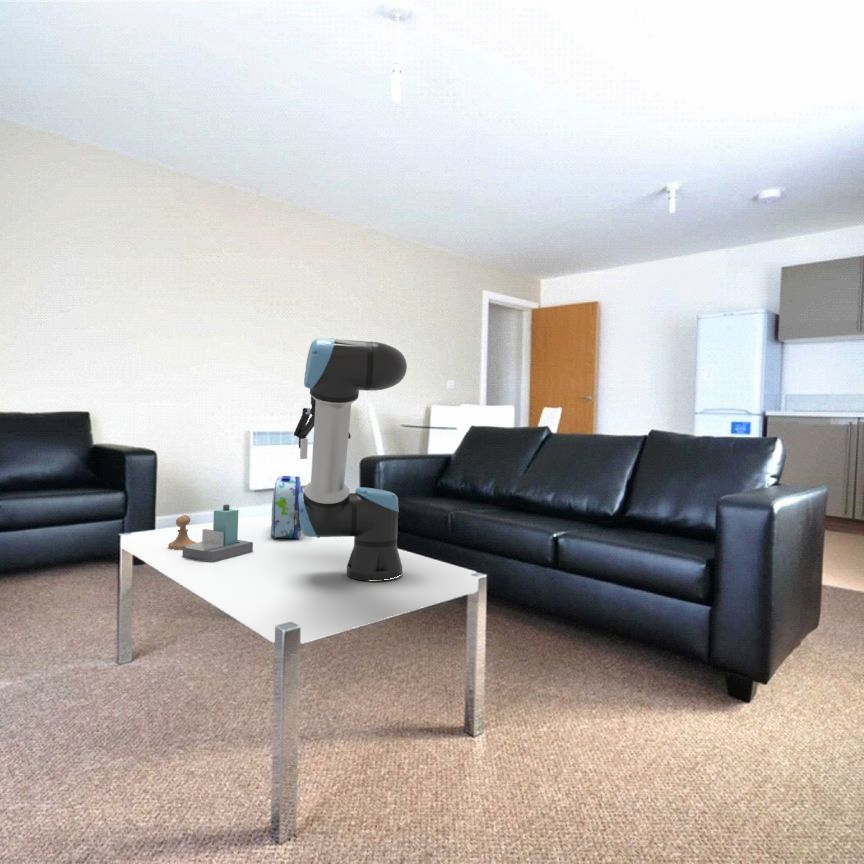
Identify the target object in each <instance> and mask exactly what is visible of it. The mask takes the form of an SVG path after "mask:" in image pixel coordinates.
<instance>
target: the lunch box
mask: <svg viewBox="0 0 864 864" xmlns="http://www.w3.org/2000/svg"><path fill="white" fill-rule="evenodd" d="M301 484H302V483H301V477H300V476H298V475H297V476H293V475H282V476H281V475H278V476H277V478H276V481H275V484H274V488H273V493H272V502H271V503H272V504H271V525H270V535H271V537H272V538H274V539H275V538H279V539H283V538H286V539H287V538H288V539H293V538H294V539H295V540H298V539H299V538H300V536H301V533H302V531H301V525H300V514H299V500H298V495H299V493H302V492H304V490H303V487H302V485H301Z"/></svg>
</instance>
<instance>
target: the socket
mask: <svg viewBox="0 0 864 864" xmlns="http://www.w3.org/2000/svg"><path fill="white" fill-rule="evenodd" d="M253 547H254V542H253V541H248V540H241V539H238V540H237V543H236V544H232V545H228V546H223V547H219V548H215V549H211V550H206V551H201V550H195V549H190V548H186V546H183V550H182V556H181V557H183V558H188V559H193V560H199V561H205V562H208V563H215V562H219V561H220V562H221V561H223V560H227V559H231V558H235V557H238V556H242V555H247V554H250V553H254V552H253V551H254V550H253V549H254V548H253Z"/></svg>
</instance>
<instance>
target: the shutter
mask: <svg viewBox="0 0 864 864" xmlns="http://www.w3.org/2000/svg"><path fill="white" fill-rule="evenodd" d="M201 536H202V541H199V542H196V543H193V544H189V545H186V548H190V549H195V550H201V551H206V550H211V549H215V548H219V547H223V538H224V532H222V531H216V530H213V529H210V528H209V529H208V528H204V529H202V535H201Z"/></svg>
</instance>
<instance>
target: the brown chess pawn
mask: <svg viewBox="0 0 864 864" xmlns="http://www.w3.org/2000/svg"><path fill="white" fill-rule="evenodd" d="M190 522H191V517H190V516H189V515H187V514H185V515H184V514H183V515H181V516H180V517H178V518H177V519H176V520H175V525H176V526H177V527H178V528H179V529H178V530H177V533H178V534H177V536H176V538H175V539H174V540H173V541H171V542H169V543H168V547H169V548H170V549H169V548H168V549H169V550H172V549H174V550H173V551H183V546H186V545H189V544H193V543H197V542H196V541H193V540H192V539H191V538H190V537H189V536H188V532H189V530H188V529H187V527H186V526H187V525H189V524H190Z"/></svg>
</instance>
